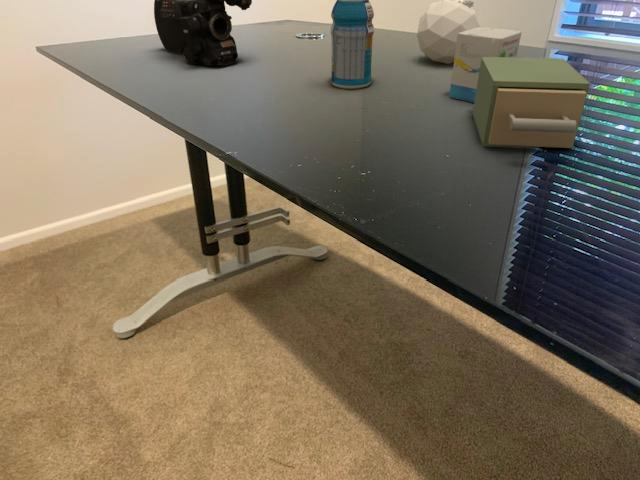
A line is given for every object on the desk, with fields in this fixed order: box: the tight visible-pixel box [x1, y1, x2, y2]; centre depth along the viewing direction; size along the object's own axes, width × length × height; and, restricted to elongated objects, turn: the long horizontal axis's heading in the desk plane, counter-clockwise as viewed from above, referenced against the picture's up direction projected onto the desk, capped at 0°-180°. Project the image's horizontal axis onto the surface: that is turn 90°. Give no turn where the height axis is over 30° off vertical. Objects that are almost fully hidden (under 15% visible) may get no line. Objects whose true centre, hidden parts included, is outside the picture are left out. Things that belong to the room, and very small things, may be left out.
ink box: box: [448, 26, 522, 104], centre depth 92 cm, size 8×8×12 cm
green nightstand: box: [472, 57, 591, 150], centre depth 77 cm, size 15×13×10 cm
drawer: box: [488, 87, 588, 149], centre depth 74 cm, size 18×11×8 cm, turn 171°
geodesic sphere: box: [416, 0, 481, 65], centre depth 115 cm, size 15×14×14 cm
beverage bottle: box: [330, 0, 375, 90], centre depth 98 cm, size 8×8×20 cm
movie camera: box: [153, 0, 253, 67], centre depth 122 cm, size 31×18×18 cm, turn 43°
